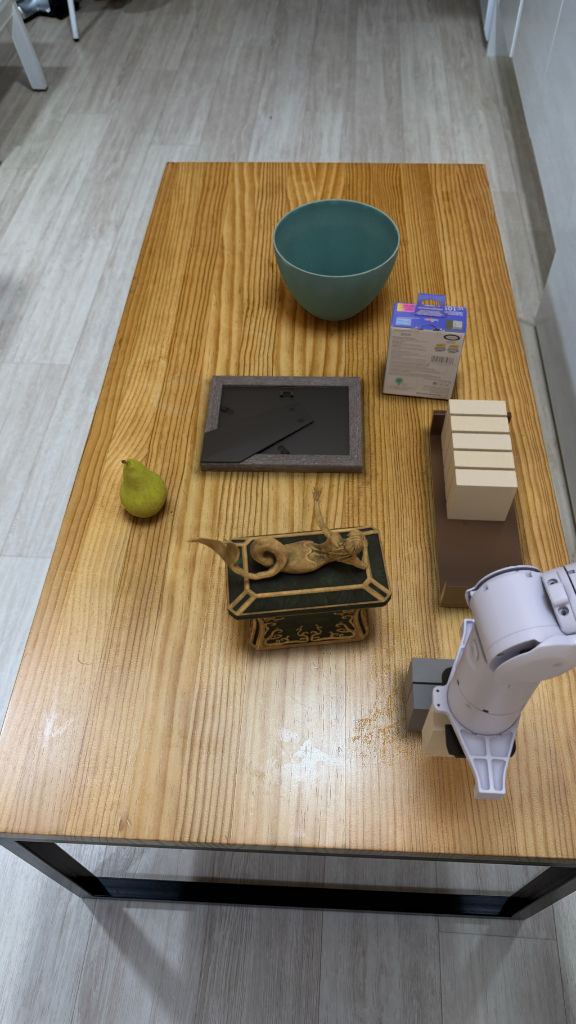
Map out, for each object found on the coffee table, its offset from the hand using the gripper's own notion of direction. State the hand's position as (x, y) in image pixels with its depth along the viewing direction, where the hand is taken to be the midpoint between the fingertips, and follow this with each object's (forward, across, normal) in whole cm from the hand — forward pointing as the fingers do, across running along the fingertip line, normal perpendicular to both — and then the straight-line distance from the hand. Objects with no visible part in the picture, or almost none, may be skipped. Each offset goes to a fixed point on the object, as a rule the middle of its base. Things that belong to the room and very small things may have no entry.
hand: (464, 737), depth 67 cm
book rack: (+10, -31, +5) cm, 33 cm away
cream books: (+9, -37, +5) cm, 38 cm away
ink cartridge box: (+10, -54, -1) cm, 55 cm away
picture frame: (+10, -45, -19) cm, 50 cm away
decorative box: (+10, -17, -17) cm, 26 cm away
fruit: (+10, -31, -36) cm, 48 cm away
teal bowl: (+10, -71, -13) cm, 73 cm away
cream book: (+2, 0, 0) cm, 2 cm away
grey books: (+10, -6, 0) cm, 12 cm away
